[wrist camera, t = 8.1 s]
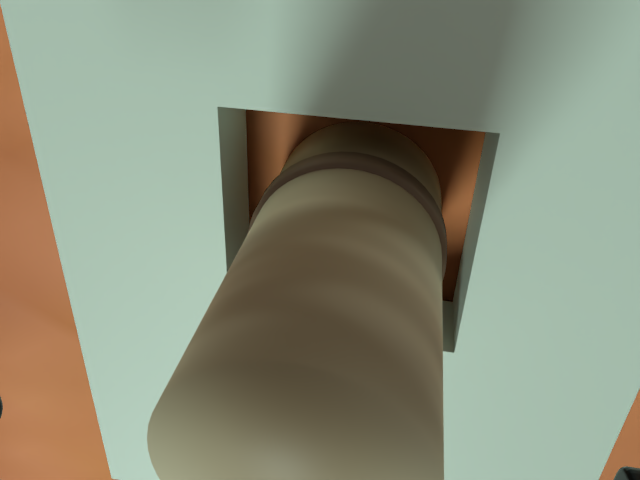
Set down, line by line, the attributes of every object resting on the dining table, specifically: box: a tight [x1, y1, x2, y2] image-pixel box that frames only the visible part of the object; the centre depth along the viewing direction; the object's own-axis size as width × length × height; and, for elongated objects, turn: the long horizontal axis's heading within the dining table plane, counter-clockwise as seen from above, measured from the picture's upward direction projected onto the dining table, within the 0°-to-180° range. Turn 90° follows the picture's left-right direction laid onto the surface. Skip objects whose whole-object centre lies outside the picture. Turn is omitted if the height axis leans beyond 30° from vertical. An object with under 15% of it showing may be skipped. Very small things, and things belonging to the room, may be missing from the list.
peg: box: [147, 122, 447, 480], centre depth 11 cm, size 4×4×8 cm
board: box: [0, 0, 640, 480], centre depth 15 cm, size 14×16×2 cm
